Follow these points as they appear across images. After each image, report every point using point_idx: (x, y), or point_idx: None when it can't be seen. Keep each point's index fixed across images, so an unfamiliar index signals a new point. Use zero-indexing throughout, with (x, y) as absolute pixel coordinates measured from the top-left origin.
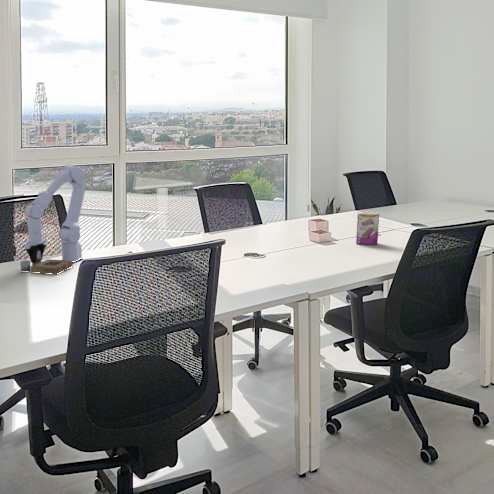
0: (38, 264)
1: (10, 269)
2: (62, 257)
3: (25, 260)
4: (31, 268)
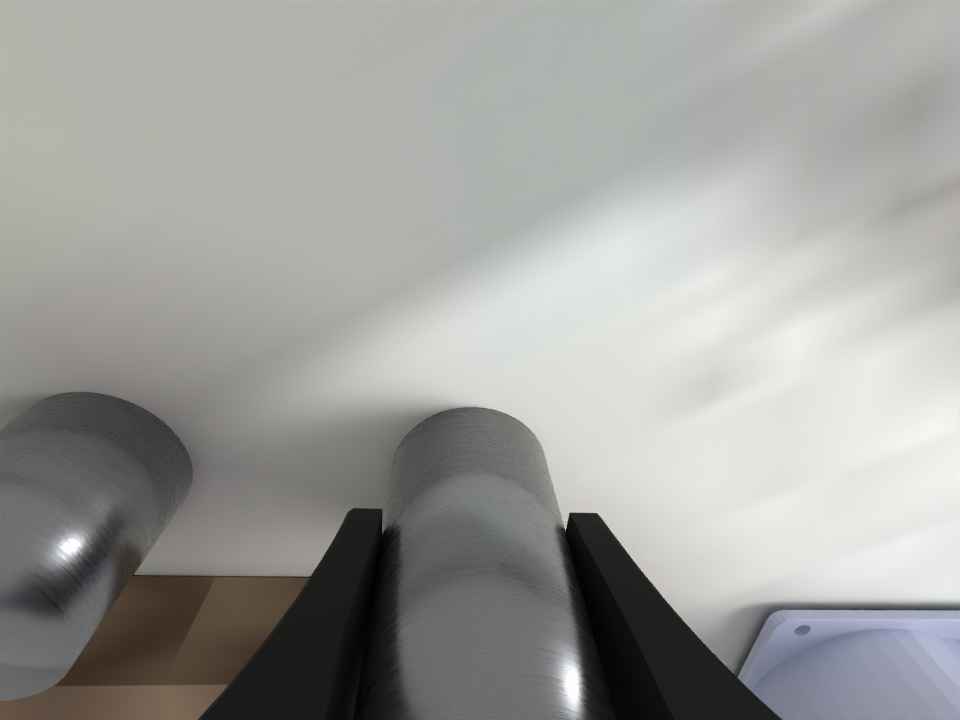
0: (166, 714)
1: (61, 78)
2: (844, 691)
3: (28, 596)
4: None
